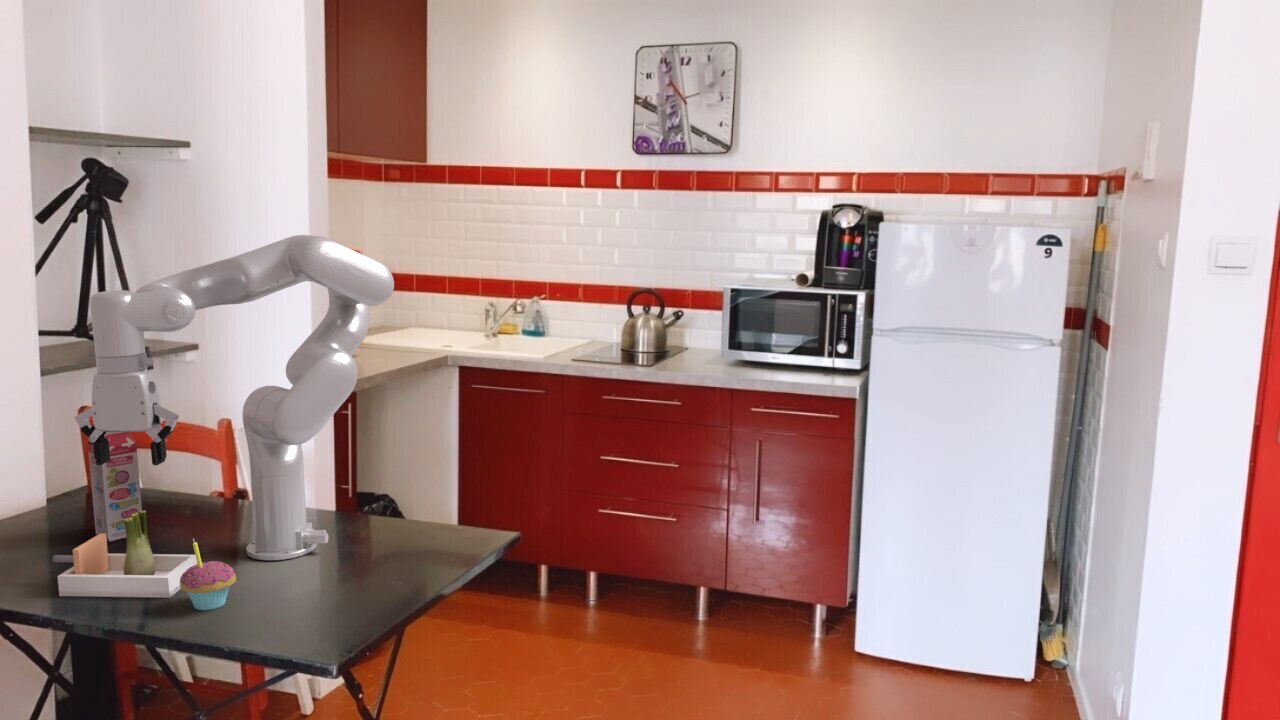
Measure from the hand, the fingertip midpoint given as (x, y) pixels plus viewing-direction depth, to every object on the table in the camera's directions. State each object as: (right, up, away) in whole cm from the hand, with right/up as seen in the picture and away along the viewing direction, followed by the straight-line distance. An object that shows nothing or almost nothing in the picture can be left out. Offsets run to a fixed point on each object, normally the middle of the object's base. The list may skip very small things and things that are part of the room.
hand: (131, 463), depth 174 cm
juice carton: (-17, -17, +30) cm, 38 cm away
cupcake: (+15, -23, -5) cm, 28 cm away
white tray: (-2, -21, +4) cm, 22 cm away
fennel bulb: (0, -21, +3) cm, 21 cm away
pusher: (-11, -20, +4) cm, 24 cm away
